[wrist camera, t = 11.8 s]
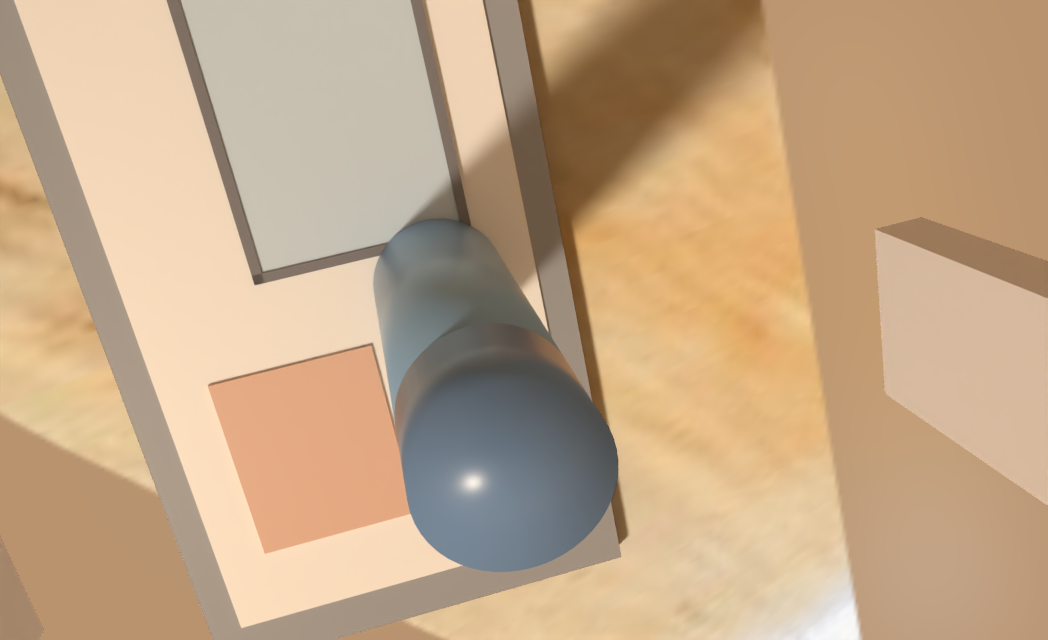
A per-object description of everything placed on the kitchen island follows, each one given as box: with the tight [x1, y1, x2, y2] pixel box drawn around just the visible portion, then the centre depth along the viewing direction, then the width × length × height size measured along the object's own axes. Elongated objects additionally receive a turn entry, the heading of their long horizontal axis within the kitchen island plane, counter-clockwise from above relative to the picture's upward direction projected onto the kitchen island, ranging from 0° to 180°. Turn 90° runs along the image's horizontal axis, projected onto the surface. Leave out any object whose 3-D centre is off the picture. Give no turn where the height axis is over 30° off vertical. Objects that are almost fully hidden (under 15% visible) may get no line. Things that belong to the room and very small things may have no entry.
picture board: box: [0, 0, 621, 640], centre depth 28 cm, size 24×14×1 cm, turn 11°
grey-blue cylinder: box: [373, 219, 618, 572], centre depth 23 cm, size 4×4×12 cm
